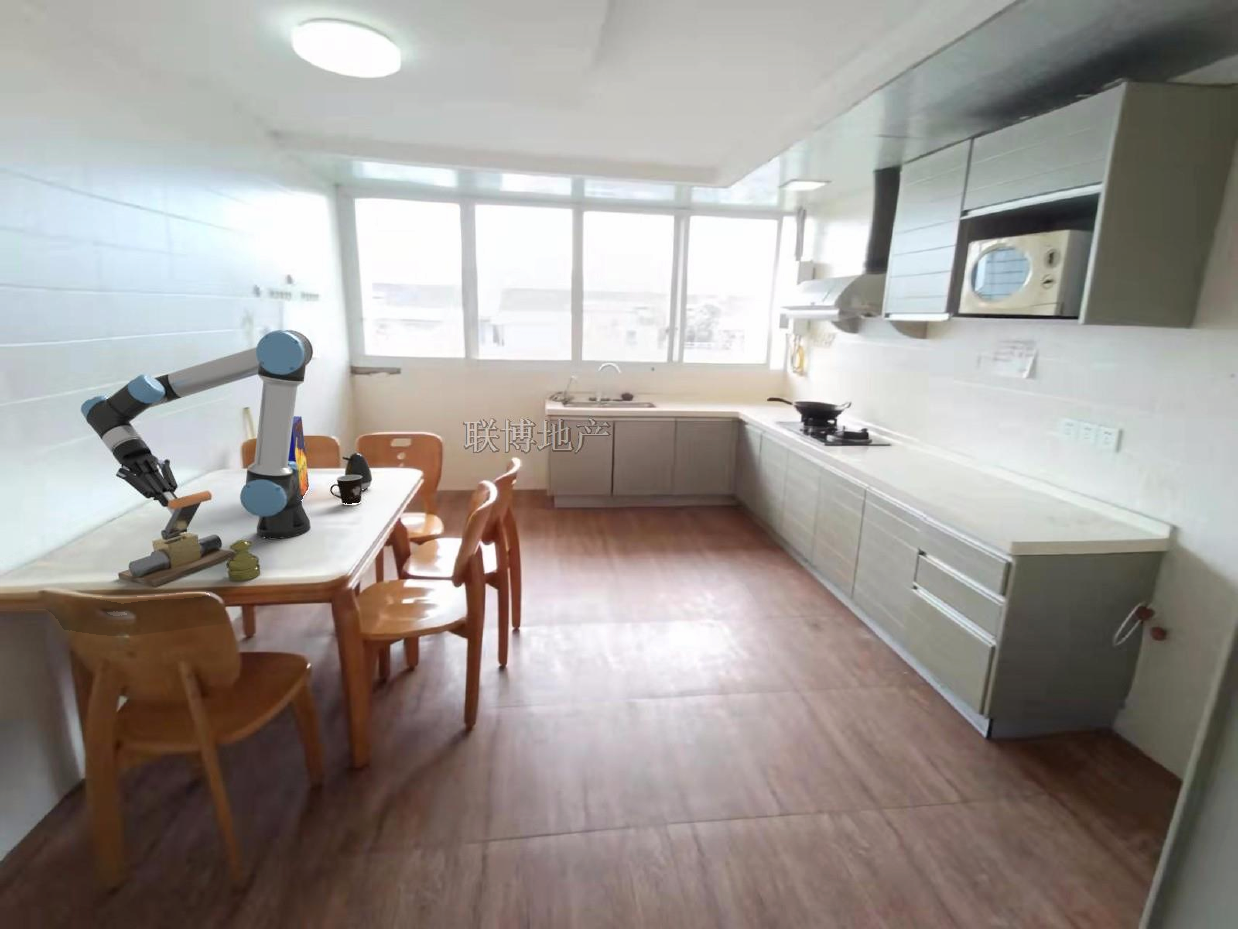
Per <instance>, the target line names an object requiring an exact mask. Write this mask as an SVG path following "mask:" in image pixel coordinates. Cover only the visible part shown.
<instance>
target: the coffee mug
mask: <svg viewBox="0 0 1238 929" xmlns="http://www.w3.org/2000/svg"><path fill="white" fill-rule="evenodd" d="M336 482H337V484H336V483H334V484H333V485H331V487H330V489H329V492H330V494H332V495H333V496H334V497H336V498H339V499H340V500H341V504H342V503H345V504H346V503H347V504H352V503H359V502H360V501H361V502H362V491H361V490H362V476H360V475H345V474H344V475H340V476H338V477H337V478H336ZM336 486H337V487H338V490H339V495H340V496H339V495H337V494H335V493H334V492H333V488H334V487H336Z"/></svg>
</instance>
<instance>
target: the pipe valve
mask: <svg viewBox="0 0 1238 929" xmlns="http://www.w3.org/2000/svg"><path fill="white" fill-rule="evenodd" d="M198 536H199V535H198V534H196V533H195V534H194V533H189V532H187V533H186V534H184V535H181V536H178V537H174V538H171V539H168V540H164V539H163V538H159V539H156V540H152V542H151V543H152V546H153V548H152V549H153V551H152V552H151V553H150V555H148V556H144V557H142V558H139V559H135V560H133V561H132V560H131V562H129V564H128V569H127V570H123V571H120V572H118V573H117V574H118V579H119V578H122V579H121V580H123V579H125V580H124V581H127V582H128V581H129V582H133V583H138V584H140V585H141V584H142V585H146V586H150V587H154V588H156V587H159V586H162V585H165V584H168V583H170V582H173V581H175V580H178V579H181V578H184V577H186V576H189V575H191V574H194V573H196V572H199V571H201V570H202V571H203V570H204V568H205V569H207V568H210V567H213V566H215V565H217V564H220V563H223V562H226V561H228V560H230V559H229V558H231V559H232V557H233V556H234V555H235V554H236V552H235V551H234V550H227V549H221V548H222V545H223V542H222V539H221V537H220V536H219V535H217V534H211V535H209V536H205V537H203V538H200V539H199V537H198ZM227 559H228V560H227ZM222 561H223V562H222ZM185 575H186V576H185ZM177 578H178V579H177Z"/></svg>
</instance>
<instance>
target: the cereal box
mask: <svg viewBox="0 0 1238 929" xmlns="http://www.w3.org/2000/svg"><path fill="white" fill-rule="evenodd" d="M304 436H305V434H304V428H303V418H302V416H300V415H299V416H298V415H297V416H296V415H294V417H293V426H292V434H291V442H290V450H289V458H288V461H294V462H296V463H297V466H298V470H299V482H300V491H301V500H302V499H303V496H304V495H305V493H306V491H307V490H308V487H309V488H310V486H309V484H310V483H309V475H308V466H307V457H306V455H307V454H306V447H305V446H306V445H305V437H304Z"/></svg>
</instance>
